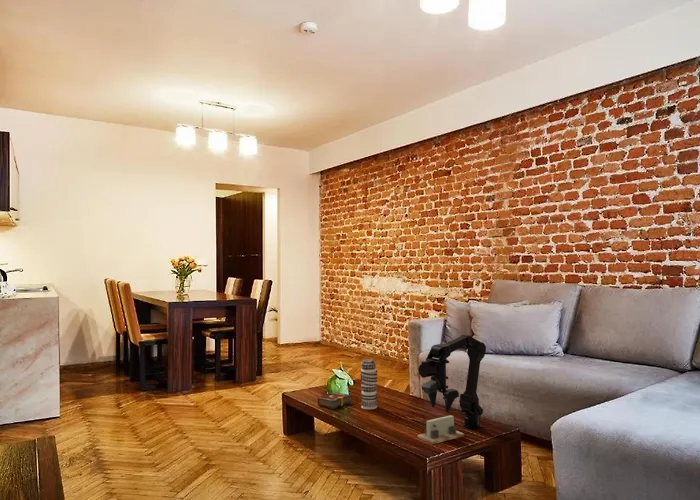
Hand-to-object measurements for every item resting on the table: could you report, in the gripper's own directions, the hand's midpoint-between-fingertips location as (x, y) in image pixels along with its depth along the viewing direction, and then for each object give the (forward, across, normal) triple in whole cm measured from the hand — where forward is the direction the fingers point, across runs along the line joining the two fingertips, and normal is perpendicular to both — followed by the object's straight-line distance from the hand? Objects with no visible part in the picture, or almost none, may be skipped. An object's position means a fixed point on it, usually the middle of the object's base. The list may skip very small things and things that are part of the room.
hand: (440, 409), depth 223 cm
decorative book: (+12, -71, -14) cm, 73 cm away
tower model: (+12, -55, -2) cm, 56 cm away
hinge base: (+12, 0, 0) cm, 12 cm away
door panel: (+11, 0, 0) cm, 11 cm away
